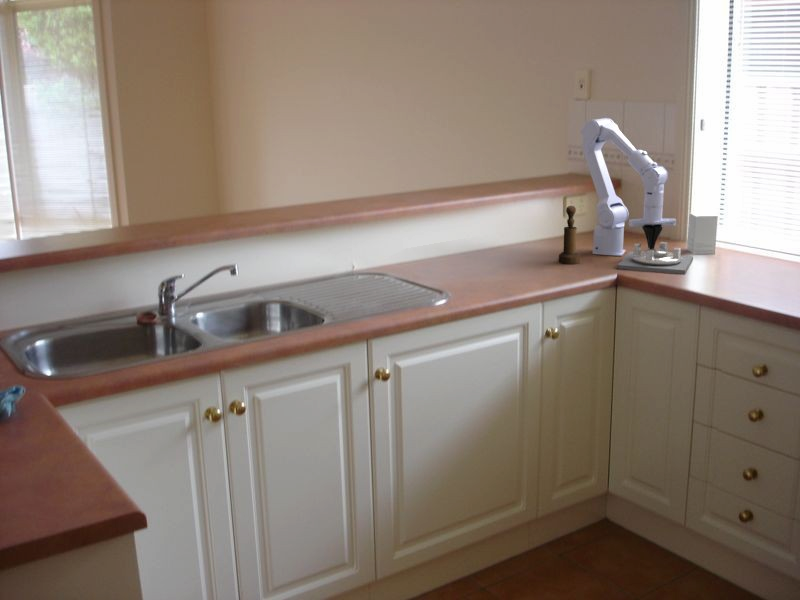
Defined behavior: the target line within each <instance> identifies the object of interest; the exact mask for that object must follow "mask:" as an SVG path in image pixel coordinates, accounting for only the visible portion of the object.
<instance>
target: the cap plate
mask: <svg viewBox="0 0 800 600" xmlns="http://www.w3.org/2000/svg"><path fill="white" fill-rule="evenodd" d="M632 254H633V251H628V253H627V254H626V255H625V256H624V258H622V259H621V261H620V262H619V263H618V264H617V269H618V270H627V271H628V270H629V271H638V270H641V271H640V272H651V271H655V272H654V273H663V272H665V273H666V274H676V273H679V274H678V275H686V274H685V273H687V271H688V270H689V267H690V266H691V264H692V263H693V261H694V255H682V254H680V255H681V257H682V258H681V262H680V263H678V264H673V265H649V264H642V263H638V262H635V261H633V260H632ZM665 273H664V274H665Z"/></svg>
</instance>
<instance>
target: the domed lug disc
mask: <svg viewBox="0 0 800 600" xmlns="http://www.w3.org/2000/svg"><path fill="white" fill-rule="evenodd" d="M641 248H642V244H641V243H634V244H633V251H632V252H633V254H632V260H633V261H635V262H638V263H642V264H649V265H673V264H678V263H680V262H681V258H682V257H681V255H682V254H681V253H682V252H681V249H682V248H681V247H674V248H673V252H670V251H668V241H667V242H666V241H665V242H664V241H660V242H659V248H654V249H649V248H648V249H646V250H642V249H641Z"/></svg>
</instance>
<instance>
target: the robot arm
mask: <svg viewBox="0 0 800 600" xmlns="http://www.w3.org/2000/svg"><path fill="white" fill-rule="evenodd" d="M580 132H581V136H582V153H583V155H584V158H585V161H586V165H587V168H588V170H589V172H590V176H591V179H592V182H593V185H594V188H595V192H596V194H597V197H598V203H597V205H596V211H597V221H598V223H599V225H595V227H594V229H593V230H594V231H593V239H592V242H593V243H592V254H593V255H600V256H601V255H603V256H613V257H614V256H615V257H616V256H617V257H622V256H623V255H624V254H625V253H626V251H627V250H626V249H624V235H625V234H624V231H625V226H626V225H625V222H627V220H628V226H629V227H633V228H634V227H641V228H642V230H643V232H644V235H645V238H646V241H647V248H648V249H655V247H656V243H657V240H658V238H659V236H660V234H661V233H662V231H663V226H673V227H674V226H677V219H676V218H669V217H668V218H663V210H664V209H663V208H664V207H663V206H664V192H665V183H666V182H667V181H668V179H669V178H668V177H669V174H668V173H669V172H668V171H667V169H666V168H665V167H664V166H662V165H658V163H657V162H655V161H653V160H652V158H651V157H649V155H648V152H647V151H646V150H642V149H636V147H635V146H634V145H633V144H632V143H631V142H630V140H629V139H628V138H627V137H626V136H625V134H623V133H622V131H621V129H619V126H618V124H617V123H615V122H614V120H613V119H611V118H609V117H603V118H597V119H596V118H595V119H592V118H591V119H588V120H587V121H585V122H584V124H583V126H582V128H581V130H580ZM606 142H611V143H612V144H613V145H614V146H615V147H616V148H617V149H618V150H620V152H622V153H623V155H625V156H626V157H627V163H628V164H629V165H630V167H632V168H633V170H635V172H636V173H638V174H639V176H640V177H641V181H642V184H643V186H644V189H643V190H644V197H643V199H644V201H643V217H642V218H634V219H629V215H630V212H629V210H628V208H627V206H626V205H625V204H624V201H623V200H622V199H621V198H620V197H619V196H618V195H617V194H616V192H615V188H614V184H613V183H612V180H611V177H610V173H609V170H608V167H607V164H606V162H605V158H604V156H603V153H602V148H603V146H604V144H605V143H606Z"/></svg>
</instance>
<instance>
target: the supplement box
mask: <svg viewBox="0 0 800 600" xmlns="http://www.w3.org/2000/svg"><path fill="white" fill-rule="evenodd" d="M688 215H689V217H688V231H687V245H686V246H687V247H686V249H687V251H688V252H690V253H692V255H697V254H698V255H714V254H716V243H717V233H718V232H717V231H718V221H719V219H718V217H719V216H718V215H716V214H715V213H713V212H711V211H709V212H708V211H704V212H702V211H701V212H689V214H688Z"/></svg>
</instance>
